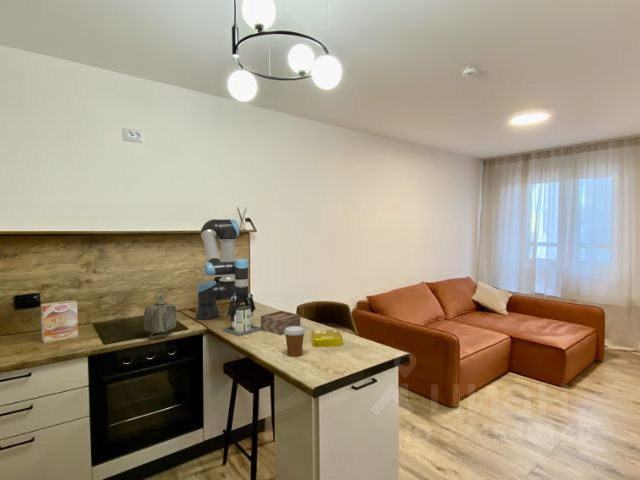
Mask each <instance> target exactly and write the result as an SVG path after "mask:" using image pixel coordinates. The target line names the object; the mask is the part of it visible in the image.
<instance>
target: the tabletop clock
mask: <svg viewBox="0 0 640 480" xmlns="http://www.w3.org/2000/svg"><path fill="white" fill-rule="evenodd" d="M159 293H164V296H162V295H161V296H159V297H157V295H158V294H159ZM166 296H167V292H166V291H165V290H159V291H157V292H156V293H155V294H154V298H155V299H156V301H155V303H153V304H149V305H147V306H146V307H145V308H144V312H143V324H144V325H143V326H144V330H145V331H146V332H151V334H150V335H148V337H147V339H149V340H151V339H152V336H153V335H154V334H155V333H156V334H161V333H162V338H164V339H165V338H166V337H167V335H168V334H169V331H170V330H172V329H174V328H176V326H177V321H178V320H177V319H178V316H177V315H178V314H177V313H178V312H177V307H176V305H175V304H173V303H166V300H165V299H164V298H166Z"/></svg>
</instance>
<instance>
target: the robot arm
mask: <svg viewBox="0 0 640 480" xmlns="http://www.w3.org/2000/svg"><path fill="white" fill-rule="evenodd" d="M238 237H240V227H239V224H238V221H237V220H235V219H224V218H223V219H216V218H215V219H209V220H208V221H206V222H205V223H204V224H203V225H202V227H201V229H200V238H201V239H202V241H203V245H204V246H203V247H204V251H205V256H206V257H205V258H206V261H207V262H205V264H204V273H205V275H206V277H207V276H210V277H211V276H212V277H215V276H221V277H220V278H219V280H218V282H217V281H216V280H209V281H204V282H201V283H199V284H198V285H197V308H196V312H195V316H194V317H195V319H196V320H201V321H206V320H207V321H209V320H214V319H217V318H219V317H220V311H219V308H218V305H217V302H218V301H225V300H230V302H229V307H228V311H227V316H230V321H231V327H236V316H235V313H236V308H238V306H239V305H241V304H243V303H244V305H247V306H249V305H251V324H252V323H253V316H254V314H253V313H254V312H255V310H256V306H255V302H254V298H253V294H252V293H249V260H248V259H246V258H237V259H235V242H236V241H237V238H238ZM216 238H218V240H219V242H220V247H221V249H220V251H221V252H219V247H218V244H217V243H218V242H217V239H216ZM220 254H221V256H220Z"/></svg>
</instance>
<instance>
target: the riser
mask: <svg viewBox="0 0 640 480" xmlns="http://www.w3.org/2000/svg"><path fill="white" fill-rule="evenodd" d="M290 326H301V314H298V313H295V312H290V311H289V312H288V311H284V310H279V311H274V312H271V313H270V312H269V313H266V314H263V315H260V328H261V330H260V331H264V332H268V333H271V334H274V335H277V336H278V335H279V336H282V335H285V333H284V331H285V328H287V327H290Z"/></svg>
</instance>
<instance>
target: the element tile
mask: <svg viewBox="0 0 640 480" xmlns="http://www.w3.org/2000/svg"><path fill="white" fill-rule="evenodd" d="M310 340H311V343H312V344H311V346H312V347H314V348H323V347H324V348H325V347H329V348H330V347H331V348H332V347H342V346H343V336H342V334H341V332H340V330H338V329H327V330H326V329H324V330H323V329H322V330H321V329H320V330H316V329H315V330H312V331H311V332H310Z"/></svg>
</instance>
